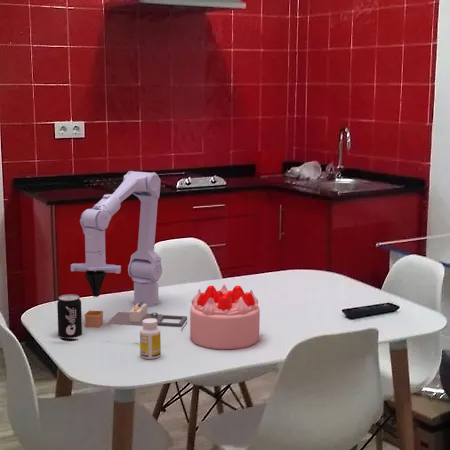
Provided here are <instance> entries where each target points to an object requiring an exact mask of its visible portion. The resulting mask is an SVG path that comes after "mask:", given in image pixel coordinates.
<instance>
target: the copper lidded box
mask: <svg viewBox="0 0 450 450" xmlns="http://www.w3.org/2000/svg"><path fill="white" fill-rule="evenodd" d="M103 317H104V311H103V310H88V311H87V312H86V313H84V320H85V321H84V326H85V328H96V329H98V328H100V327H101V326H102V325H103V324H104V319H103Z"/></svg>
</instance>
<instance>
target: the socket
mask: <svg viewBox="0 0 450 450" xmlns="http://www.w3.org/2000/svg"><path fill="white" fill-rule="evenodd" d="M165 319H166V320H180V321H178V322H167V321H166V322H165V321H163V320H165ZM187 320H188V316H187V315H173V314H172V315H168V314H162V315H161V316H160V317H159V318H158V319H157V321H158V325H157V327H172V328H173V327H174V328H181V330H180V332H182V330H183V329H184V328H185V326H186V325H187V324H188V321H187Z"/></svg>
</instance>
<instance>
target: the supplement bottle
mask: <svg viewBox="0 0 450 450" xmlns="http://www.w3.org/2000/svg"><path fill="white" fill-rule="evenodd" d="M157 325H158V321H157V320H156V319H144V320H143V321H142V326H141V328H140V330H139V351H140V352H139V354H140V355H139V356H140V357H141V359H146V360H153V359H154V360H155V359H158V358H160V357H161V355H162V351H161V349H162V348H161V346H162V345H161V343H162V341H161V330H160V328H159V326H157Z"/></svg>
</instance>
